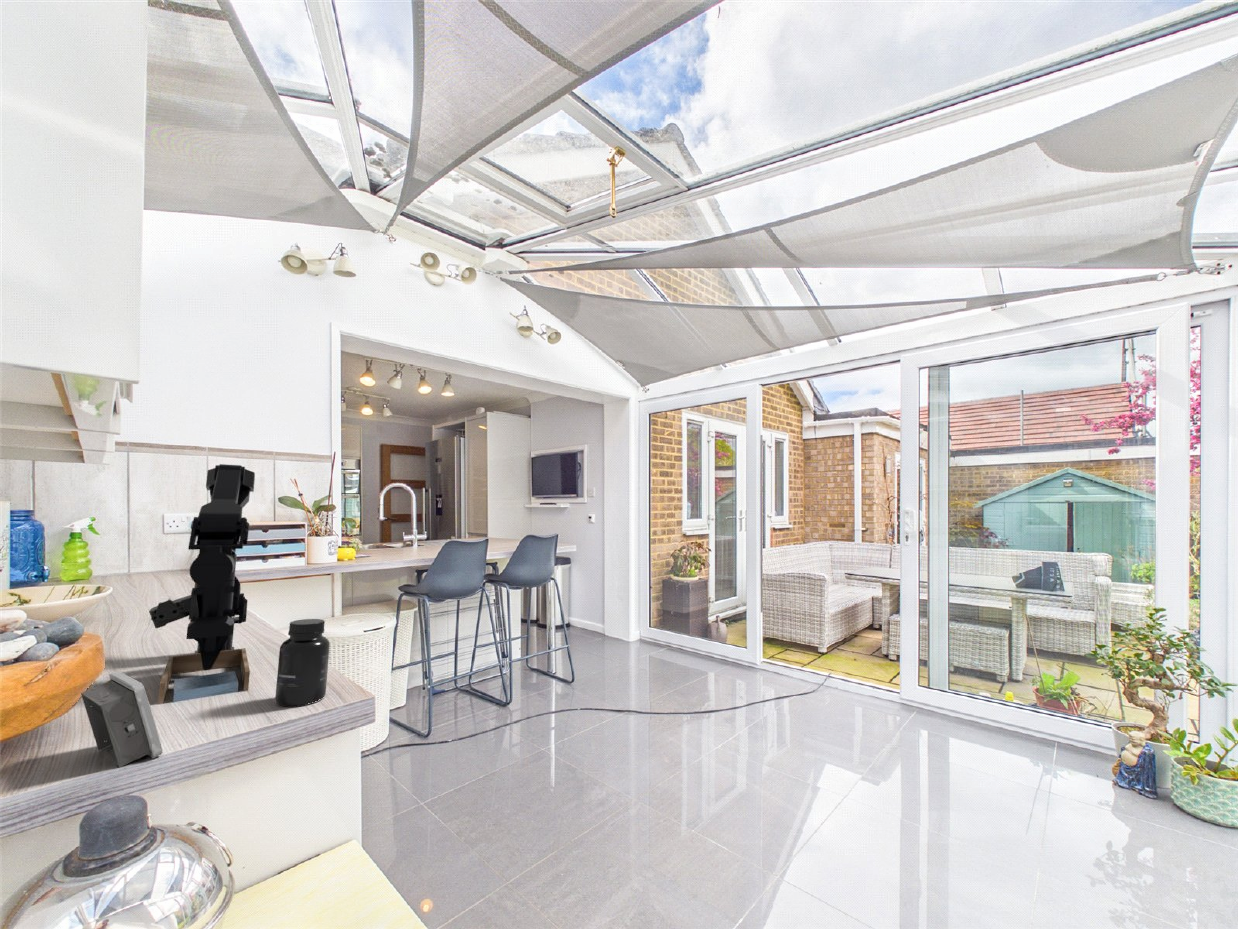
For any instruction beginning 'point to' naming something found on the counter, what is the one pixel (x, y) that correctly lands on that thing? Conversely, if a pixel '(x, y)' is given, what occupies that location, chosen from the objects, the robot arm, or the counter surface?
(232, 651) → the open box
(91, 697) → the electrical switch
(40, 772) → the counter surface
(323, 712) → the counter surface
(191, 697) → the cover plate
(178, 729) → the counter surface
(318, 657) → the supplement bottle
